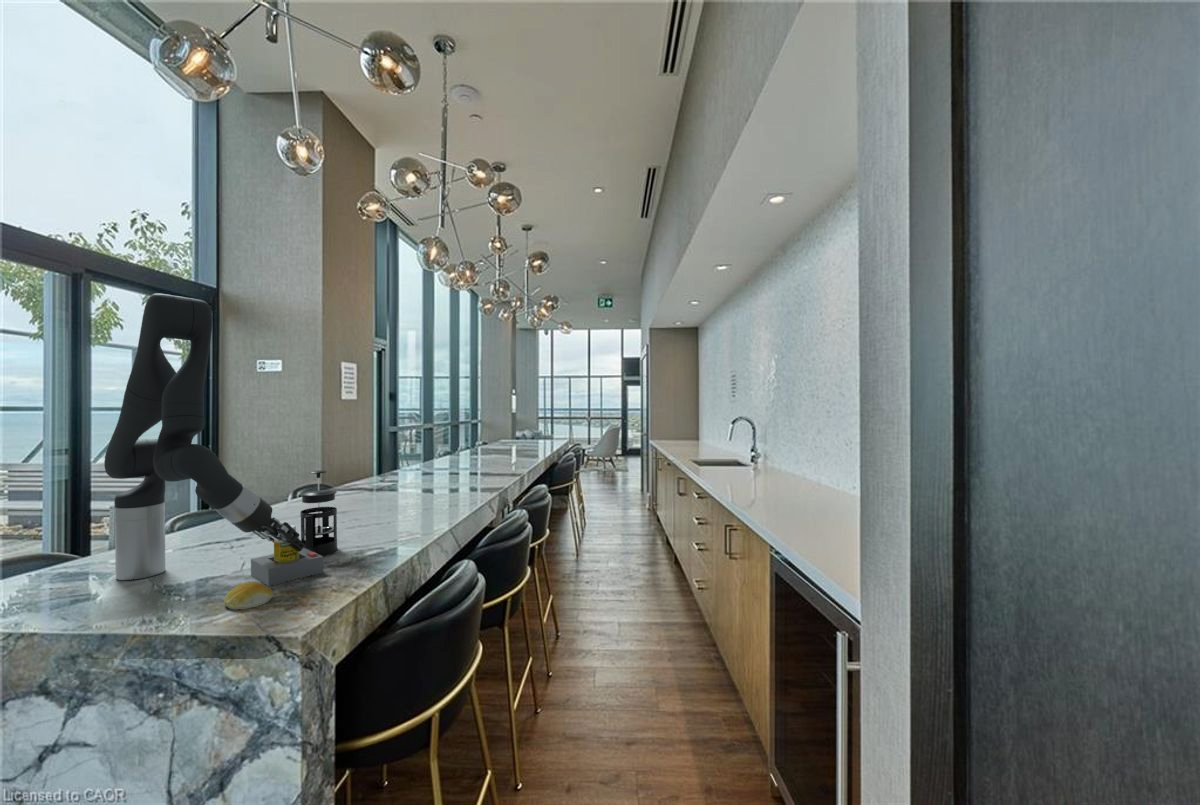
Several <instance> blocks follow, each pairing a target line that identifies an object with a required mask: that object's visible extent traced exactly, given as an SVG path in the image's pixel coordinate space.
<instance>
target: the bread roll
mask: <svg viewBox="0 0 1200 805" xmlns="http://www.w3.org/2000/svg"><path fill="white" fill-rule="evenodd" d="M273 595H274V592H273V590H272V589H271V588H270V586H267V585H265V584H264V583H262V582H260V581H259V582H258V581H249V582H244V583H241V584H238V585H237V586H235V587H233V588H232V589H230V591H229V592H228V593H227V594H226V595H225V597H224V599H223V604H224V606H225V607H226V608H229V609H230V610H233V611H234V610H235V611H236V610H237V611H238V609H241V610H248V609H251V608H255V607H259V605H260V606H263V605H265V604H268V602H269V601H270V600H271V599H272V597H273ZM262 604H263V605H262Z"/></svg>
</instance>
